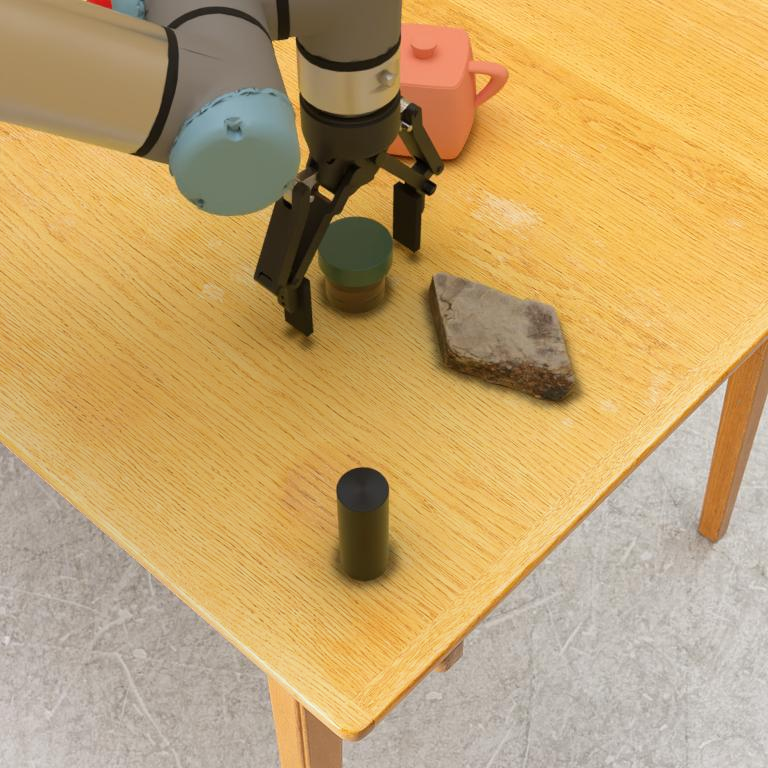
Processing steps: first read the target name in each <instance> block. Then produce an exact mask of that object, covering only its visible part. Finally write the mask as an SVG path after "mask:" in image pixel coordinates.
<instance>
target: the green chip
mask: <svg viewBox="0 0 768 768" xmlns="http://www.w3.org/2000/svg"><path fill="white" fill-rule="evenodd" d="M317 262H318V267H319V269H320V271H321V273H322V274H323V275H324V277H325V276H326V277H327V278H329V279H330V280H331V281H333V282H335V283H338V284H340V285H344V286H350V287H360V286H366V285H370V284H373V283H375V282H377V281H379V280H380V279H382V278H383V277H384V276H385V277H386V276H387V274H388V273H389V272H390V271H391V268H392V266H393V264H394V263H393V262H394V239H393V235H392V234H391V232H390V231H389V230H388V228H387V227H386V226H384V225H383V224H382V223H380V221H377V220H375V219H373V218H369V217H365V216H347V217H342V218H338V219H335V220H334V221H331V222H330V225H329V227H328V229H327V231H326V233H325V235H324V237H323V239H322V241H321V243H320V245H319V247H318V249H317Z"/></svg>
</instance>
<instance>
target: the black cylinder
mask: <svg viewBox="0 0 768 768" xmlns="http://www.w3.org/2000/svg"><path fill="white" fill-rule="evenodd" d="M335 491H336V493H335V494H336V509H337V511H336V512H337V526H338V527H337V528H338V544H339V563H340V566H341V567H340V568H341V569H342V571H343V573H344V574H345V575H346V576H348V577H349V578H351V579H352V580H355V581H360V582H370V581H373V580H376V579H377V578H379V577H381V576H382V575H383V574H384V573H385V571H386V570H387V568H388V565H389V556H390V555H389V554H390V553H389V549H390V547H389V545H390V544H389V542H390V484H389V482H388V480H387V478H386V477H385V476H384V475H383V473H381V472H380V471H379V470H377V469H375V468H371V467H367V466H359V467H355V468H354V467H353V468H351V469H349V470H347V471H346V472H345V473H343V474H342V475H341V476H340V478H339V479H338V481H337V483H336V487H335Z"/></svg>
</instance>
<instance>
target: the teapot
mask: <svg viewBox="0 0 768 768" xmlns="http://www.w3.org/2000/svg"><path fill="white" fill-rule="evenodd" d="M477 74H478V75H485V76H488V77H490V79H489V80H488V82H487V84H486V85H485V86H484V87H483V88H482V89H481V90H480V91H479V92H478V93H477V78H476V77H477V76H476V75H477ZM509 77H510V72H509V69H508V68H507V67H506V66H504V65H503V64H500V63H497V62H492V61H486V60H485V61H484V60H475V59H474V54H473V49H472V43H471V38H470V35H469V32H468V31H467V30H466V29H464V28H459V27H452V26H445V25H436V24H427V23H414V22H413V23H412V22H401V70H400V92H401V96H403V97H405V98H406V99H408V100H410V101H411V102H413V103H415V104H416V105H418V106H419V107H421V109H422V122H423V126H424V128H425V130H426V132H427V134H428V136H429V137H430V139H431V141H432V143H433V145H434V147H435V148H436V150H437V152H438V154H439V156H440V158H441V159H442V160H454V159H456V158H457V157H458V156H459V155H460V153H461V152H462V150H463V148H464V146H465V144H466V142H467V140H468V138H469V135H470V132H471V130H472V127H473V124H474V120H475V116H476V109H477V108H479V107H480V106H482V105H483V104H485V103H486V102H488V101H489V100H491V99H492V98H493V97H495V96H496V95H497V94H498V93H499V92H500V91H501V90H502V89H503V88H504V87H505V86H506V84H507V82H508V80H509ZM387 153H388V154H389V155H396V156H402V157H411V158H412V156H411V155H410V153H409V151H408V150H407V148H406V146H405V145H404V143H403V141H402V140H401V138H400V136H399V135H398V136H397V137H396V139H395V141H394V142H393V143H392V144H391V145H390V146H389V148H388V151H387Z"/></svg>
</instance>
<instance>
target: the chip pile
mask: <svg viewBox="0 0 768 768" xmlns="http://www.w3.org/2000/svg"><path fill="white" fill-rule="evenodd" d="M324 279H325V281H324V282H325V294H326V299H327V300H328V302H329V303H330V305H332V307H334V308H335V309H336V310H339V311H341V312H343V313H346V314H362V313H366V312H370V311H371V310H374V309H375V308H377V307H378V306H379V305H380V304H381V303H382V302H383V299H384V298H385V293H386V275H385V276H384V277H383V278H382V279H380V280H379V281H377V282H375V283H373V284H370V285H366V286H360V287H350V286H344V285H340V284H338V283H335V282H333V281H331V280H330V279H329V278H327V277H326V276H325V275H324Z"/></svg>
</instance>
